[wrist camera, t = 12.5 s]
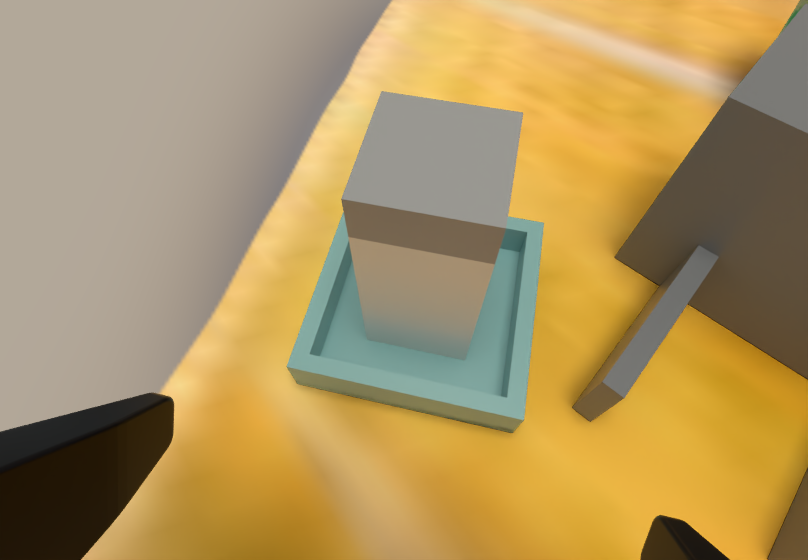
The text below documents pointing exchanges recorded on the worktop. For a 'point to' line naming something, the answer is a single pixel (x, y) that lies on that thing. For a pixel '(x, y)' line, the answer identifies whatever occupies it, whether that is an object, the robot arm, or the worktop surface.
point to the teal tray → (421, 371)
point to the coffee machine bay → (732, 240)
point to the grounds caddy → (429, 218)
